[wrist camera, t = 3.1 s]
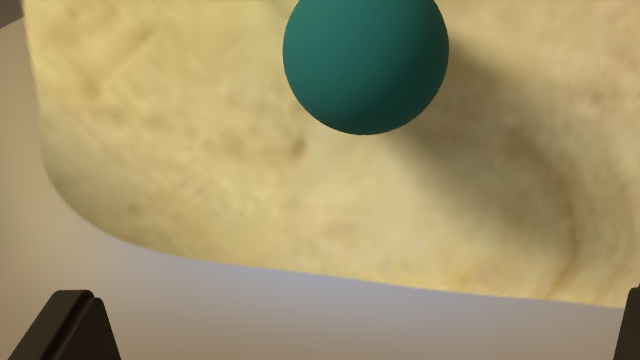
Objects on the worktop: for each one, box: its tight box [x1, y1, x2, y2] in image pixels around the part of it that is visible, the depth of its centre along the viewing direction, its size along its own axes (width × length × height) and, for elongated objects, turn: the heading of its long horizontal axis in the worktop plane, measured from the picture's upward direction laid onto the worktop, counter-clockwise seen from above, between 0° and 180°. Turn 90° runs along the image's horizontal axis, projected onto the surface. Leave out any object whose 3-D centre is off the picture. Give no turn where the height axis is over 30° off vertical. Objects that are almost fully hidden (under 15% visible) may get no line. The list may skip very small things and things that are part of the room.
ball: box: [283, 0, 449, 135], centre depth 22 cm, size 6×6×6 cm
